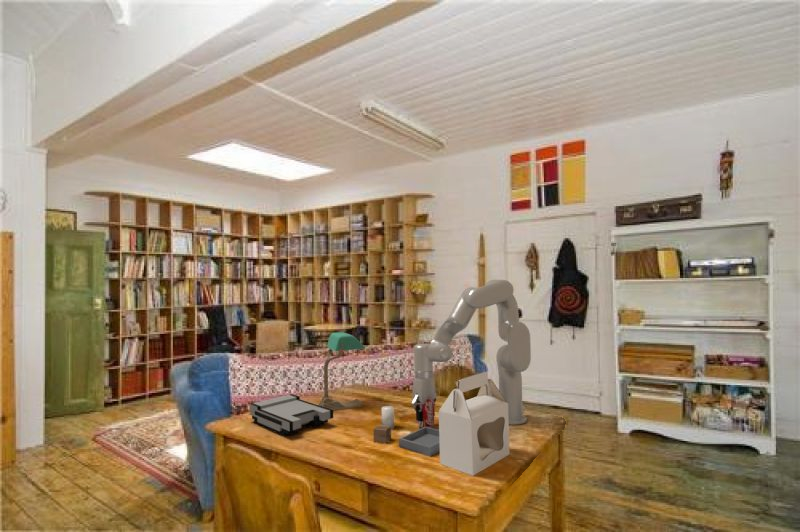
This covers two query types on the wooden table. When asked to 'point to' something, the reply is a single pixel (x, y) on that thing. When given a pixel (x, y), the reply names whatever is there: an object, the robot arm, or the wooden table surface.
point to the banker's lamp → (335, 343)
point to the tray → (422, 441)
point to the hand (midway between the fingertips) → (425, 417)
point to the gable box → (473, 426)
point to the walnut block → (382, 434)
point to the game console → (288, 414)
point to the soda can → (427, 414)
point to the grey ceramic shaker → (388, 416)
